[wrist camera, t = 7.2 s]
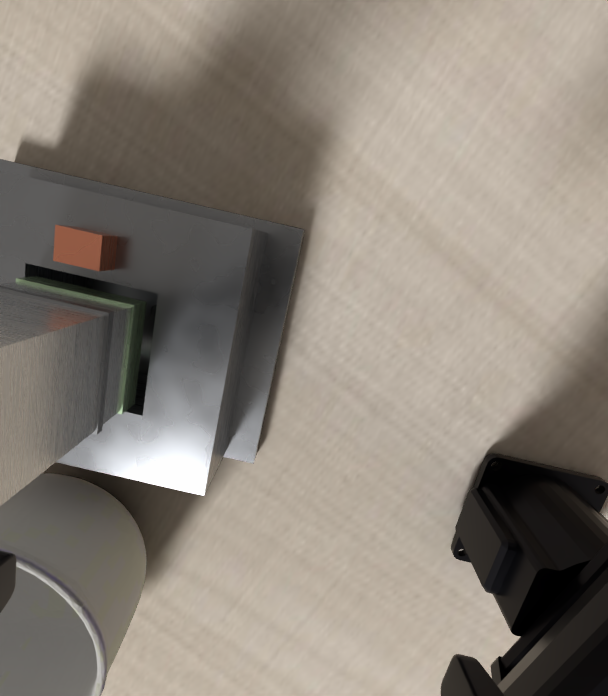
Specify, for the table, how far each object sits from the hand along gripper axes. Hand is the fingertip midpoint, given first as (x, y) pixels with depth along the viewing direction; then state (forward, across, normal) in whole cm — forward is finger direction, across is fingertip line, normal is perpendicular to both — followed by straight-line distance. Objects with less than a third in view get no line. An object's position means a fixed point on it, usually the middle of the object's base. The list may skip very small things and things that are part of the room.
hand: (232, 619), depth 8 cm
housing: (+13, +8, -2) cm, 15 cm away
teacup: (+13, +10, +13) cm, 21 cm away
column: (+8, +8, -2) cm, 12 cm away
